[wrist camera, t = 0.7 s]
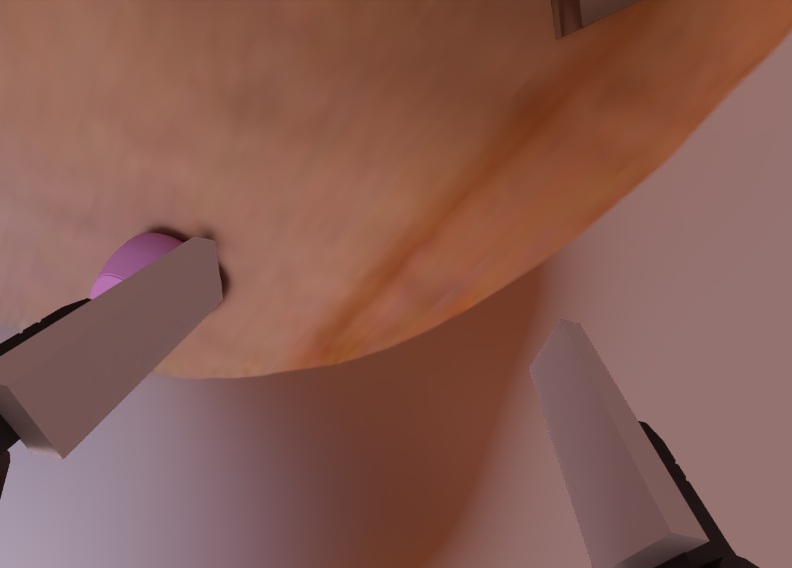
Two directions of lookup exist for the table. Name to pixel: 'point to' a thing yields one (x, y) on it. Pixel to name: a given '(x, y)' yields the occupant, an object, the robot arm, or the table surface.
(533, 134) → the table surface
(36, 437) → the robot arm
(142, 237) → the teapot
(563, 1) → the block
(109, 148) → the table surface
